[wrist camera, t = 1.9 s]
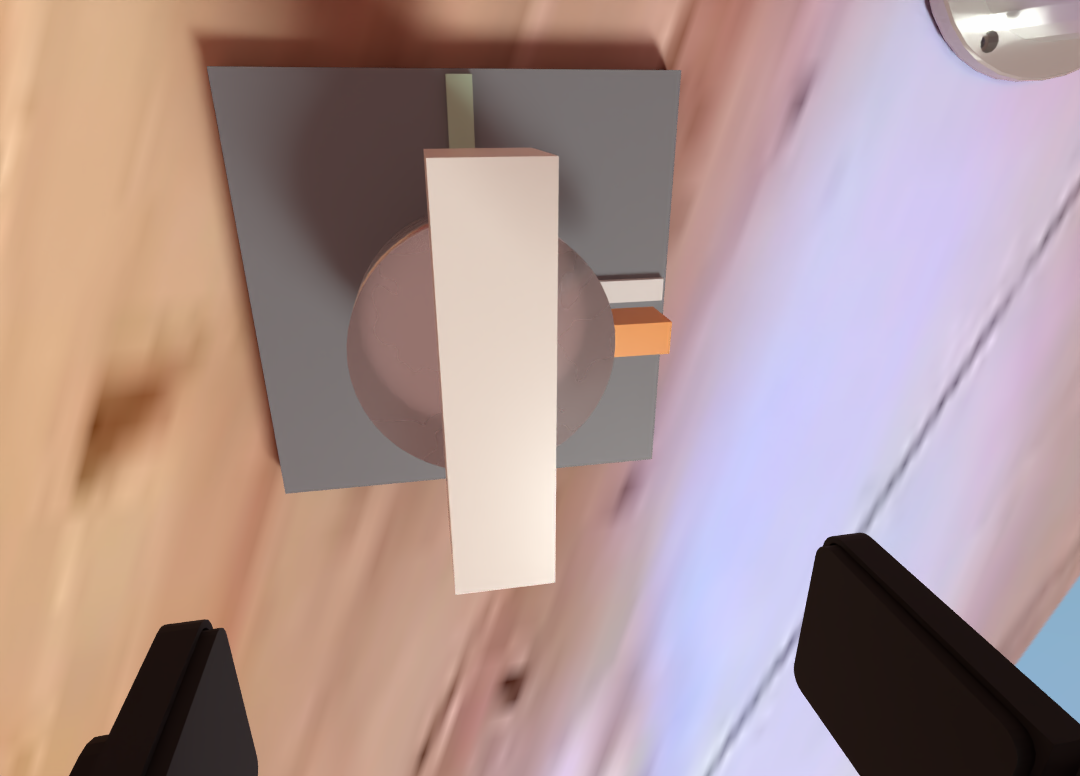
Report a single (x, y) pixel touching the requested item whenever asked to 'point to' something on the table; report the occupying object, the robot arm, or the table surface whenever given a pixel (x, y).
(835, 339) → the table surface
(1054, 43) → the robot arm
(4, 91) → the table surface
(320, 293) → the base
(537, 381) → the cap
